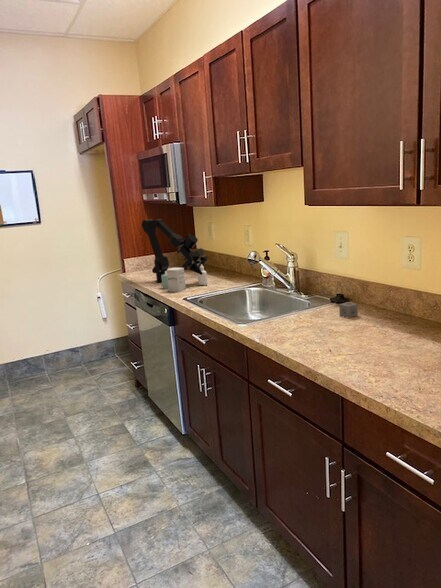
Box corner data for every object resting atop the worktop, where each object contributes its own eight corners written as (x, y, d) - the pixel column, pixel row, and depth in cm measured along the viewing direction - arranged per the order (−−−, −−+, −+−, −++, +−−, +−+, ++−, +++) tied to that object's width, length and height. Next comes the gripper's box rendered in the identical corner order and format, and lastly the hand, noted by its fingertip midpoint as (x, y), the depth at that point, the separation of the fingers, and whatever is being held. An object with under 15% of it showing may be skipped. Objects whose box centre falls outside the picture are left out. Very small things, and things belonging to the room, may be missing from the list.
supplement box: (168, 291, 255) (165, 269, 253) (175, 288, 262) (173, 267, 259) (179, 292, 252) (176, 269, 249) (186, 289, 258) (184, 267, 255)
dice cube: (357, 315, 184) (357, 304, 183) (348, 318, 182) (348, 306, 180) (348, 313, 188) (348, 301, 187) (339, 316, 186) (339, 304, 185)
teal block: (162, 288, 265) (161, 275, 263) (168, 286, 269) (167, 273, 267) (168, 289, 262) (167, 275, 260) (174, 287, 266) (173, 274, 264)
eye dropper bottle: (201, 285, 263) (199, 265, 260) (198, 284, 268) (196, 264, 265) (208, 284, 264) (206, 264, 261) (205, 283, 269) (203, 263, 266)
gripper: (183, 246, 256) (200, 267, 252) (204, 242, 270) (220, 261, 266) (174, 260, 262) (191, 280, 258) (195, 254, 277) (211, 273, 273)
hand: (204, 273), depth 264 cm, fingers closed on eye dropper bottle, 3 cm apart
